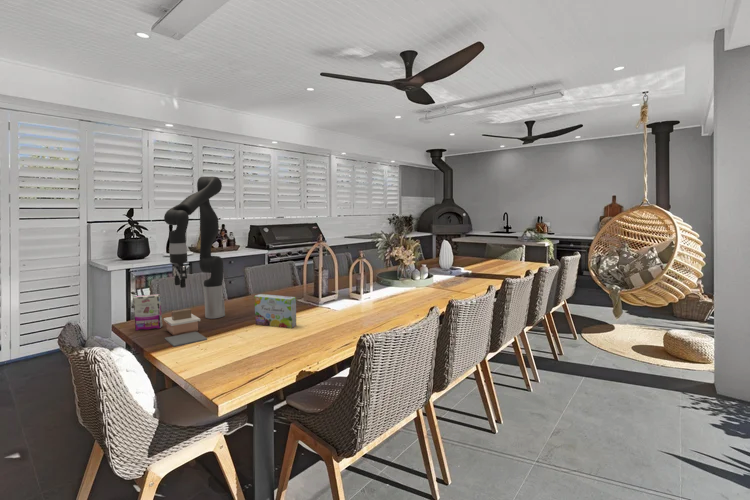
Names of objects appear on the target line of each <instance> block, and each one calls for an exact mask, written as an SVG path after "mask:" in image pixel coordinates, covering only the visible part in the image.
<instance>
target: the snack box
mask: <svg viewBox="0 0 750 500" xmlns="http://www.w3.org/2000/svg"><path fill="white" fill-rule="evenodd" d="M253 297H254V298H253V299H254V320H255V321H254V322H255V325H258V326H267V327H274V328H276V327H277V328H282V329H283V328H284V329H290V330H291V329H293V328H295V327H296V326H297V297H296V296H287V295H285V296H284V295H277V294H276V295H275V294H267V293H265V294H263V293H258V294H256V295H254V296H253Z"/></svg>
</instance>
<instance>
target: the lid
mask: <svg viewBox="0 0 750 500" xmlns="http://www.w3.org/2000/svg"><path fill="white" fill-rule="evenodd" d="M162 321H164V322H165V323H166V322H167V323H168V324H169V325H171V326H174V325H180V324H186V323H191V322H197V321H198V322H201V318H200V317H198V316H197V315H194V314H193V313H192V309H191V308H184V309H183V308H182V309H178V310H176V309H175V310H171V316H169V317H164V318H163V317H162Z"/></svg>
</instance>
